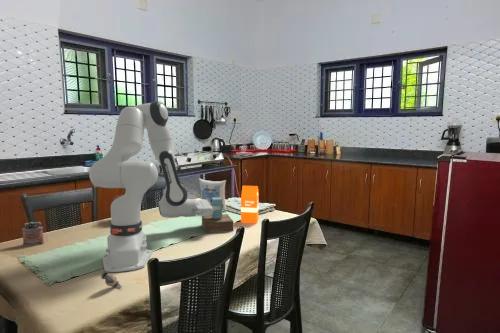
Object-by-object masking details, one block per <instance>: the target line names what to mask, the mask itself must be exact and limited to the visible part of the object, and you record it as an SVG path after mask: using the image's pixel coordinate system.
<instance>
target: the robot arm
mask: <svg viewBox="0 0 500 333" xmlns="http://www.w3.org/2000/svg"><path fill="white" fill-rule="evenodd" d="M168 120H169V110H168V108H167V106H166V105H165V104H164V103H163V102H161V101H152V102H147V103H140V104H137V105H134V106H126V107H124V108H122V110H121V111H120V113H119V116H118V118H117V121H116V126H115V132H114V137H113V142H112V145H111V147H110V149H109V151H108V152H107V153H106V154H105V155H104V156H103V157H102V158H100V159H99V160H98V161H96V162H94V163H93V164H92V165H91V167H89V168H90V169H89V173H88V176H89V180H90V182H91V183H92V184H93V186H94V187H99V188H105V189H125V193H124V194H122V195H123V196H122V195H120V196H121V197H119V198H117V199H115V200H114V201H113V202H112V201H111V202H112V203H111V204H110V224H109V230H110V232H109V233H110V234H109V235H108V236H107V237H106V238H107V239H106V240H107V241H106V242H107V248H106V249H105V252H106V253H104V254H102V257H101V259H102V263H103V264H102V265H103V270H104V271H105V272H107V273H117V272H118V273H120V272H127V271H128V272H129V271H136V270H139V269H143V268H144V267H146V264H147V262H148V261H149V259H150V257H151V256H152V250H151V249H148V245H147V234H146V233H145V232H144V231H143V222H142V219H141V218H142V217H141V212H142V211H141V206H142V200H143V198H144V196H145V194H146V192H147V191H148V190H149V189H150V188H151V187H154V185H155V183H156V182H157V181H158V178H159V171H158V167H157V166H156V165H155V163H154V162H152V161H147V160H141V159H139V160H136V159H135V160H133V159H132V160H131V158H132V157H135V156H136V155H138V154H139V153H140V152H141V151H142V148H143V141H144V134H145V133H144V132H145V130H146V131H147V132H146V133H147V138H148V142H149V145H150V148H151V151H152V153H153V156H154V157H155V159H156V161H157V162H158V163H159V166H160V167H161V170H162V174H163V177H164V181H165V189H164V191H163V192H164V193H163V194H162V197H161V199H160V201H159V202H158V203H157V206H158V211H159V215H160V216H161V217H162V218H166V219H167V218H169V219H172V218H173V219H175V218H180V217H181V218H182V217H183V218H184V217H185V218H191V217H193V218H194V217H196V215H198V216H208V215H212V214H213V211H215V210H220V206H212V203H209V202H208V201H207V200H205V199H201V198H200V199H199V198H192V197H191V198H188V191H187V189H186V188H185V186H184V185H183V184H182V183H181V181H180V178H179V174H178V169H177V166H176V161H175V159H176V158H175V157H176V156H175V155H176V154H175V143H174V140H173V135H172V132H171V129H170V127H169V124H168ZM129 159H130V160H129Z"/></svg>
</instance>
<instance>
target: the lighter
mask: <svg viewBox="0 0 500 333" xmlns="http://www.w3.org/2000/svg"><path fill="white" fill-rule="evenodd" d="M41 225H42V222H41V221H30V222H26V223H24V226H25V227H23V228H21V231H22V241H23V242H22V246H23V247H25V246H26V247H29V246H31V247H32V246H41V245H43V244H45V241H44V231H43V230H44V227H43V226H41Z"/></svg>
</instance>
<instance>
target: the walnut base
mask: <svg viewBox="0 0 500 333" xmlns="http://www.w3.org/2000/svg"><path fill="white" fill-rule="evenodd" d="M201 226H202V229H203V230H204V232H205V234H212V233H220V232H221V233H223V232H232V231H233V232H234V220H233V219H232V218H231V217H230V216H229V214H228V213H227V214H226V213H225V214H224V213H222V218H218V219H213V217H212V215H201Z"/></svg>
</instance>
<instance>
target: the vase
mask: <svg viewBox="0 0 500 333" xmlns="http://www.w3.org/2000/svg"><path fill="white" fill-rule="evenodd" d="M100 279H102V280H105V281H104V282H105V284H106V286H108V287H113V288H115V289H117V290H120V289H121V288H123V286H122V285H121V283H120V281H118V278H117V277H116V276H115V275H114V274H109V272H107V271H105V272H103V273H102V274H101V276H100Z"/></svg>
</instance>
